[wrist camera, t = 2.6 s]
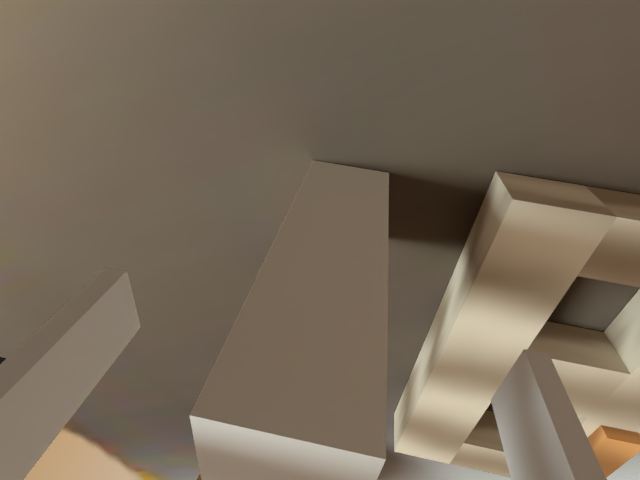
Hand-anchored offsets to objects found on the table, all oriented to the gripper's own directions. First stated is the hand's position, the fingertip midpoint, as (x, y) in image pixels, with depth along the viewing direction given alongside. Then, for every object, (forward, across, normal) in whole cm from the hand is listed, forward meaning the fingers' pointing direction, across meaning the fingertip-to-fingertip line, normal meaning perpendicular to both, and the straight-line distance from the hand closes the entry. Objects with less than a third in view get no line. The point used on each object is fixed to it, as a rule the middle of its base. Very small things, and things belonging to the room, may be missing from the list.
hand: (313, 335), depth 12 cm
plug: (+9, 0, 0) cm, 9 cm away
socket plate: (+9, +14, -8) cm, 19 cm away
